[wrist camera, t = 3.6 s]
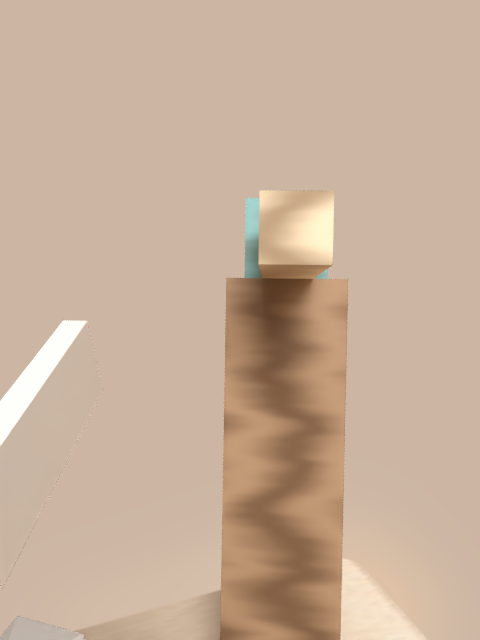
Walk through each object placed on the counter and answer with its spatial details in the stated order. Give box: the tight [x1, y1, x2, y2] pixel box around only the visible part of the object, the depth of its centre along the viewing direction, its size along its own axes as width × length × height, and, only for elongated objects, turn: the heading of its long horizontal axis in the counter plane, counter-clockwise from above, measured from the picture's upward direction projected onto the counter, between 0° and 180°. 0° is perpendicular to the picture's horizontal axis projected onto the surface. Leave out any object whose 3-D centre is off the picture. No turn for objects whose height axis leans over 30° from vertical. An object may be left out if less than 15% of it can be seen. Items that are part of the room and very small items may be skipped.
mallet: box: [245, 191, 334, 279], centre depth 30 cm, size 6×18×6 cm, turn 176°
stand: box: [220, 278, 348, 640], centre depth 34 cm, size 8×8×30 cm
